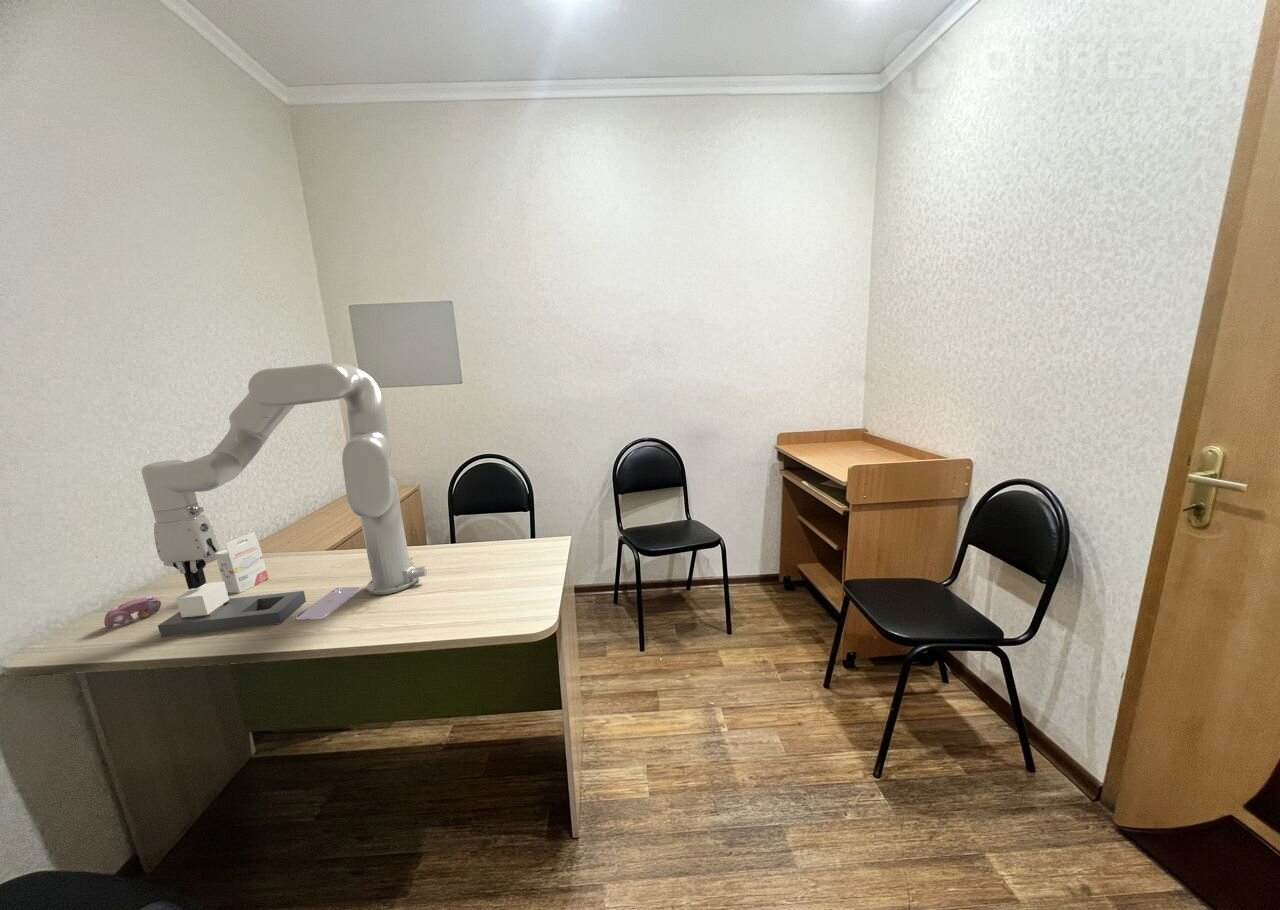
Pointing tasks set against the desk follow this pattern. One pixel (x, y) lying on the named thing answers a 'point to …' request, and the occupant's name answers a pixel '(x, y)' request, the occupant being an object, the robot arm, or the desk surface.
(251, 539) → the ink cartridge box
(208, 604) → the plug
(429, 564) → the desk surface
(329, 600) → the mobile phone
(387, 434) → the robot arm
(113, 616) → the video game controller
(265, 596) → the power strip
